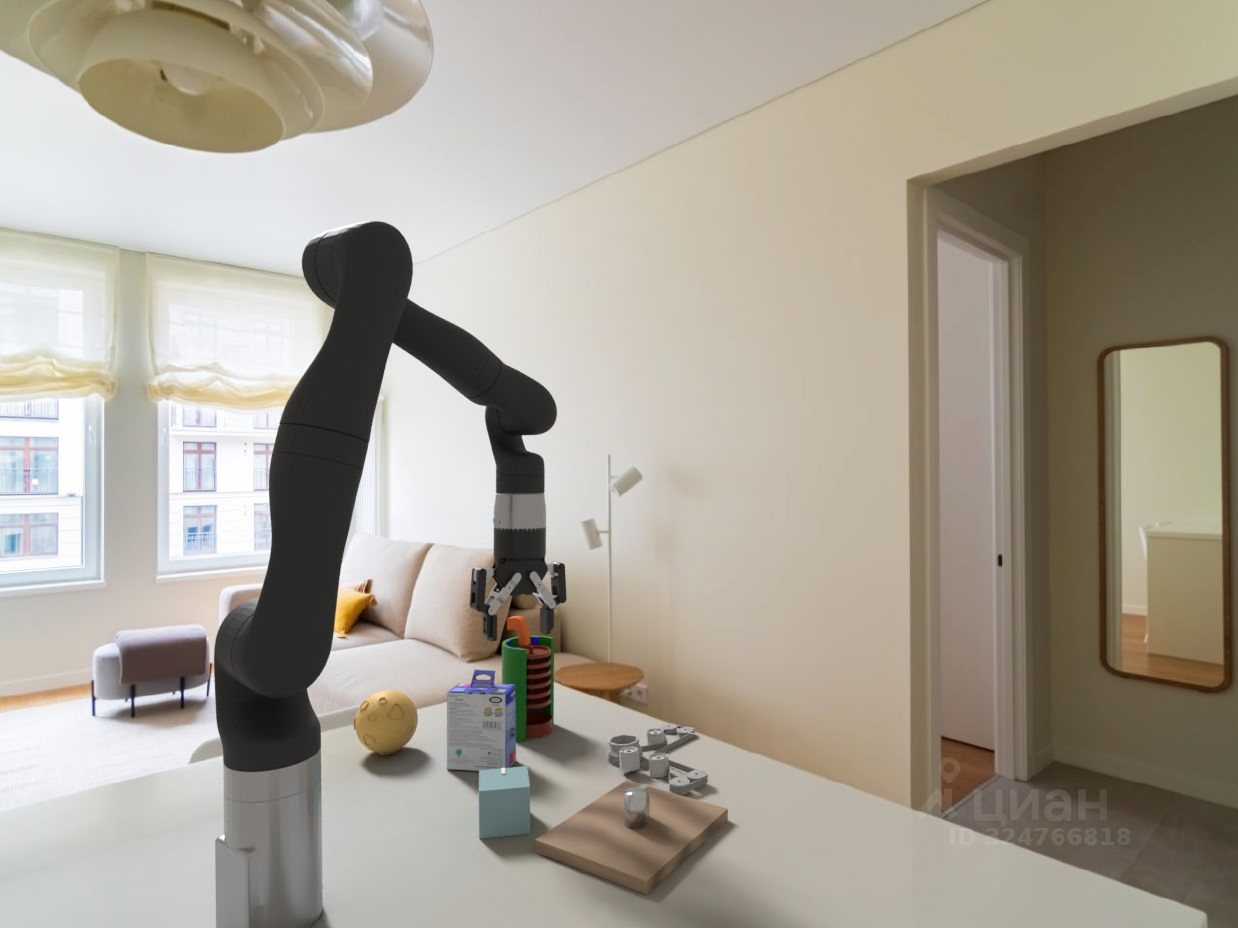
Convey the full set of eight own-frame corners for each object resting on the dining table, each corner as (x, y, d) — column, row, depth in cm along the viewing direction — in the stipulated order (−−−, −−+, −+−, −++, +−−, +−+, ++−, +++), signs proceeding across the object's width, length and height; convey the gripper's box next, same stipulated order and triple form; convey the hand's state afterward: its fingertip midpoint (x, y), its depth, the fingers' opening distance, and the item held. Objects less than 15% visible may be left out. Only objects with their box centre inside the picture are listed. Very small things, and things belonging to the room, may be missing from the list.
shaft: (638, 831, 91) (638, 798, 91) (620, 824, 92) (619, 793, 92) (655, 817, 94) (655, 786, 94) (637, 812, 95) (636, 781, 95)
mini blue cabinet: (530, 833, 93) (529, 784, 93) (479, 838, 92) (478, 789, 92) (527, 810, 100) (526, 764, 100) (479, 814, 98) (479, 768, 98)
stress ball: (391, 743, 126) (343, 713, 123) (429, 699, 127) (382, 668, 124) (390, 776, 117) (338, 744, 114) (431, 728, 117) (381, 695, 114)
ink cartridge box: (518, 759, 117) (517, 669, 117) (507, 774, 111) (506, 679, 111) (459, 756, 118) (458, 666, 118) (445, 770, 113) (444, 676, 113)
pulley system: (605, 806, 103) (711, 799, 103) (602, 772, 103) (709, 765, 103) (609, 739, 130) (693, 733, 130) (607, 712, 130) (691, 707, 130)
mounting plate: (646, 894, 80) (646, 881, 80) (535, 851, 89) (535, 839, 89) (727, 819, 96) (727, 808, 96) (627, 790, 105) (626, 779, 105)
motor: (542, 742, 124) (541, 624, 123) (492, 739, 125) (491, 623, 125) (559, 721, 133) (558, 612, 133) (513, 719, 135) (512, 611, 135)
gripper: (484, 528, 99) (483, 648, 98) (575, 524, 107) (574, 636, 106) (463, 524, 105) (462, 637, 105) (551, 521, 113) (550, 626, 113)
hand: (519, 636), depth 106 cm, fingers open, 8 cm apart
